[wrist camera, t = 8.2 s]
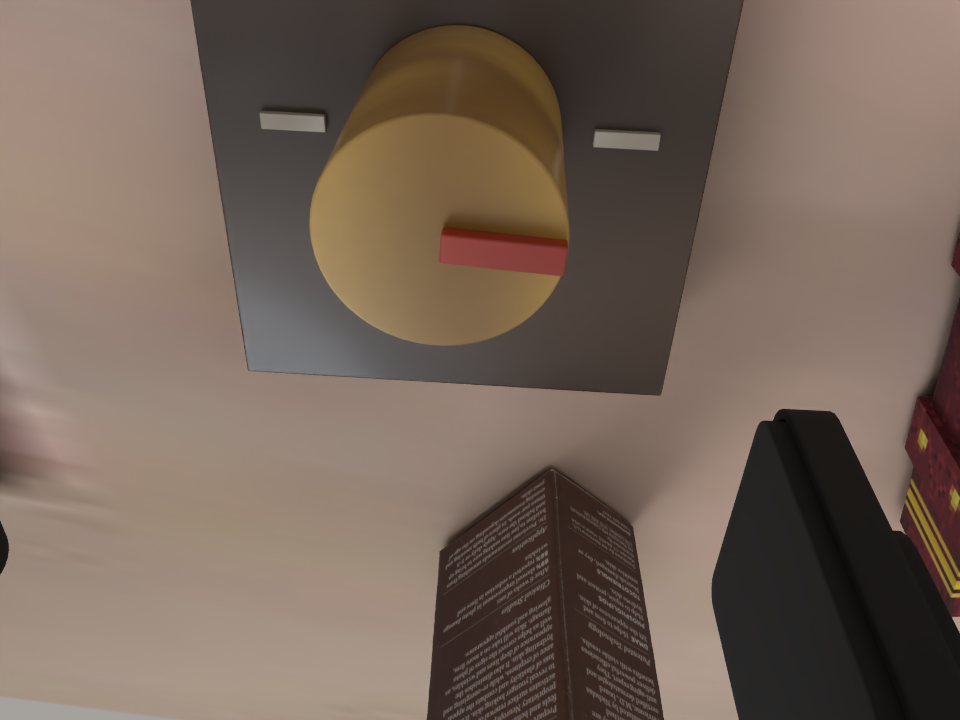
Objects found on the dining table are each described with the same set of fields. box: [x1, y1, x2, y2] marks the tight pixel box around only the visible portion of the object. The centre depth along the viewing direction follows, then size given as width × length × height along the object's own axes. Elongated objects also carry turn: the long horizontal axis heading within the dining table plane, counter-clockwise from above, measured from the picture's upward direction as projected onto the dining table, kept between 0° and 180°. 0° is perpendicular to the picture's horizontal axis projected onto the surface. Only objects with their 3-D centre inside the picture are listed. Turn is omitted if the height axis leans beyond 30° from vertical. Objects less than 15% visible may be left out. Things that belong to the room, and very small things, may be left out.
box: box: [427, 469, 664, 720], centre depth 25 cm, size 6×4×12 cm
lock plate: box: [191, 0, 744, 396], centre depth 20 cm, size 14×11×3 cm
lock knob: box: [309, 25, 570, 346], centre depth 16 cm, size 4×4×5 cm
